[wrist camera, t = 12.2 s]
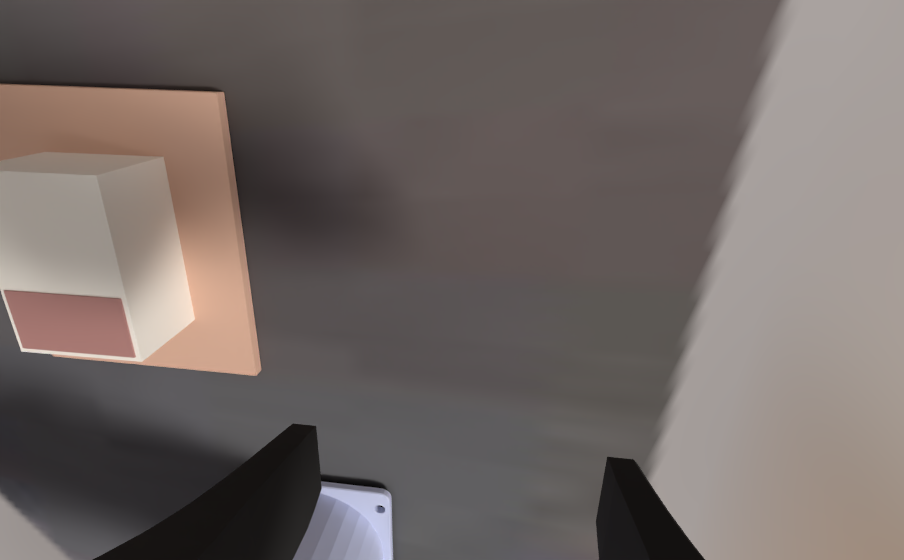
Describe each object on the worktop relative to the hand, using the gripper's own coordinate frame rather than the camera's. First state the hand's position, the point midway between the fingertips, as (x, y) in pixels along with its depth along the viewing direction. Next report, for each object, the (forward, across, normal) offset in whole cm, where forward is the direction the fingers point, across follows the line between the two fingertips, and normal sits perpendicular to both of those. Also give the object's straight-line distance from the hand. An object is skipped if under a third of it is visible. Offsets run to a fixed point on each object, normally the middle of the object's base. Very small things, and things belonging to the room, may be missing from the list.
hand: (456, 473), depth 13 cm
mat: (+9, +15, -2) cm, 18 cm away
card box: (+9, +15, -2) cm, 18 cm away
